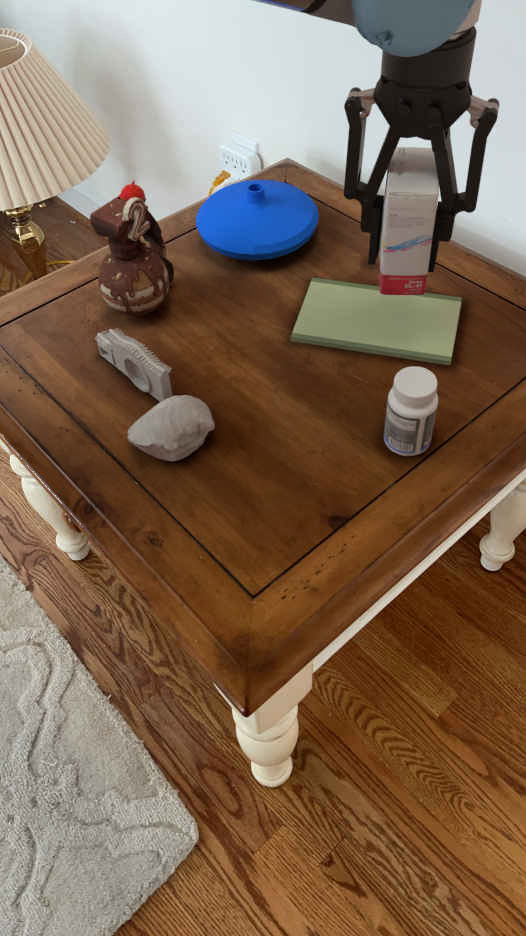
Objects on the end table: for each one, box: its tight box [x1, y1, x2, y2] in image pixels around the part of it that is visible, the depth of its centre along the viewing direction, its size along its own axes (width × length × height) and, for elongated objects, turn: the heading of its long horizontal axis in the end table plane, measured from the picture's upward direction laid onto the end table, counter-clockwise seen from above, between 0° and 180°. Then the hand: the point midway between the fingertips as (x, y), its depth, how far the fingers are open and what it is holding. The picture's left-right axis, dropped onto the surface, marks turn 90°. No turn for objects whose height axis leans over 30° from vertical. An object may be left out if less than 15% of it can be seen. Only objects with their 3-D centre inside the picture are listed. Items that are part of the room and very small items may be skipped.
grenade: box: [89, 179, 175, 317], centre depth 84 cm, size 9×8×15 cm
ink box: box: [379, 146, 440, 295], centre depth 75 cm, size 9×5×12 cm, turn 173°
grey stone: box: [127, 394, 216, 462], centre depth 75 cm, size 9×8×5 cm
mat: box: [290, 277, 463, 366], centre depth 86 cm, size 18×11×1 cm, turn 75°
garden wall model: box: [94, 327, 174, 403], centre depth 80 cm, size 12×2×6 cm, turn 44°
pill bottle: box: [383, 365, 439, 457], centre depth 72 cm, size 5×5×8 cm
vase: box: [195, 179, 320, 261], centre depth 95 cm, size 16×16×7 cm
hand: (402, 260), depth 79 cm, fingers closed on ink box, 5 cm apart
